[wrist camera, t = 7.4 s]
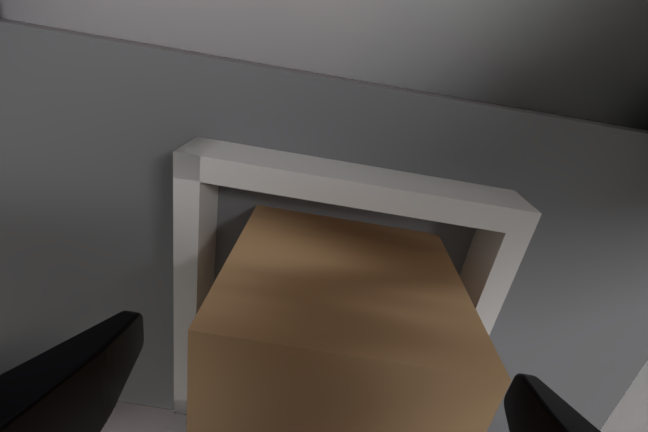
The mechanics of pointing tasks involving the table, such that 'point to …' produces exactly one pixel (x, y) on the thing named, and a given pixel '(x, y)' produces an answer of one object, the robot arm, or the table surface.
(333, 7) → the table surface
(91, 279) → the chassis
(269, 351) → the cardboard box
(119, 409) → the table surface
